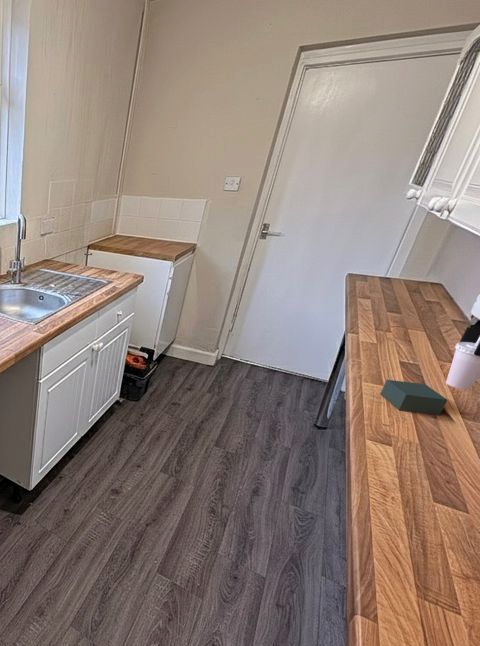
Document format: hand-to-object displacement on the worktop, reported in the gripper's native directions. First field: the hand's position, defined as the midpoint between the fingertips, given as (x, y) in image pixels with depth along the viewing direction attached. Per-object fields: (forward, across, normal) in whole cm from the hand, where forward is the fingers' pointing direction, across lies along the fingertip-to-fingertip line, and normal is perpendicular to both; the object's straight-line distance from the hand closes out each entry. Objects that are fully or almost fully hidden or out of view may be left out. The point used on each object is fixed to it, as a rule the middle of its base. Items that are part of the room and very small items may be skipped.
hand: (476, 349), depth 91 cm
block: (+25, +22, -2) cm, 34 cm away
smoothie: (+9, 0, 0) cm, 9 cm away
